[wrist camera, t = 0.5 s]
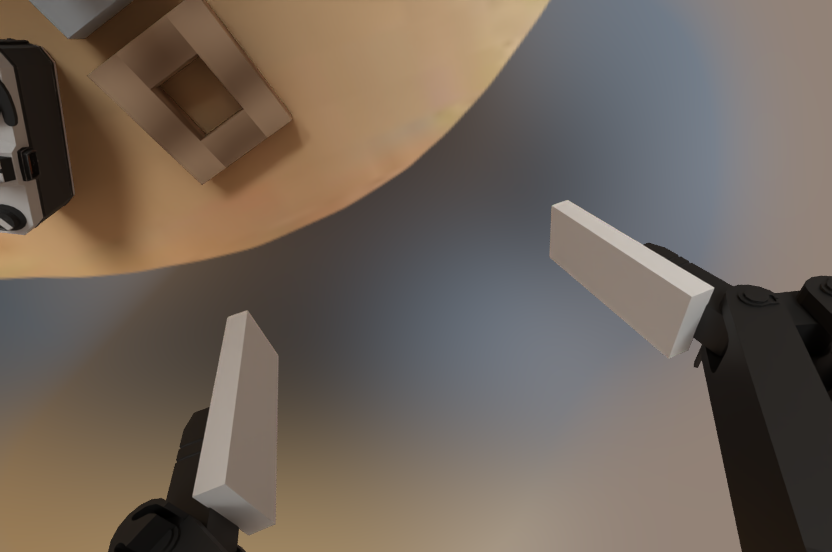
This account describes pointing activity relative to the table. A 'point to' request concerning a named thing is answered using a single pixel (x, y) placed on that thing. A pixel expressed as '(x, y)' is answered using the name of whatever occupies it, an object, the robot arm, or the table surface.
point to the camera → (31, 138)
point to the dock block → (162, 118)
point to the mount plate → (79, 14)
